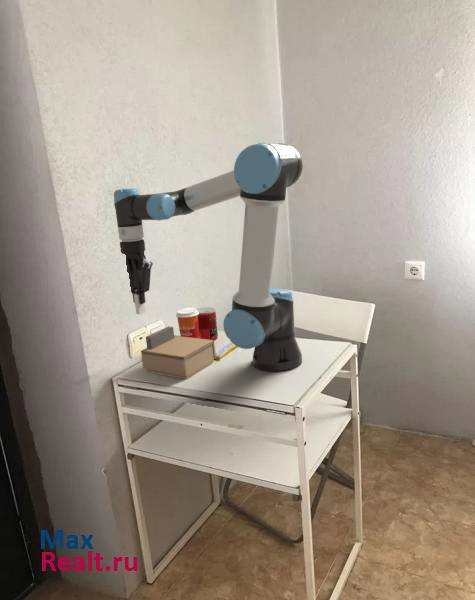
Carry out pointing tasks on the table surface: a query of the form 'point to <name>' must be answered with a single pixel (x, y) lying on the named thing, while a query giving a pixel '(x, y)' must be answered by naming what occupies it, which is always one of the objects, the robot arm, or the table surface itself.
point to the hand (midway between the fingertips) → (140, 312)
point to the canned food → (207, 323)
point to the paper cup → (188, 322)
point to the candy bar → (225, 351)
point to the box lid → (171, 351)
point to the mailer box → (193, 363)
